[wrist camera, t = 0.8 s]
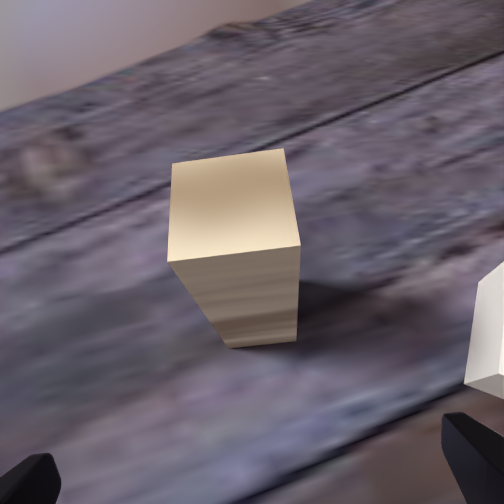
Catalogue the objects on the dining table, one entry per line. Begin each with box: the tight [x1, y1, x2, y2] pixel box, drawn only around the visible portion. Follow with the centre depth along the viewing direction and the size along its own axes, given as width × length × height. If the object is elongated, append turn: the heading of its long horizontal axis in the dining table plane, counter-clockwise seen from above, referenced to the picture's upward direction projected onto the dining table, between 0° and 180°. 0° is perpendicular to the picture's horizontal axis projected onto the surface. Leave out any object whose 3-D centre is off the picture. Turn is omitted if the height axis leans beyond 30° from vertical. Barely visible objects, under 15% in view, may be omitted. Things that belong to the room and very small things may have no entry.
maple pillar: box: [167, 148, 301, 348], centre depth 18 cm, size 4×4×12 cm
